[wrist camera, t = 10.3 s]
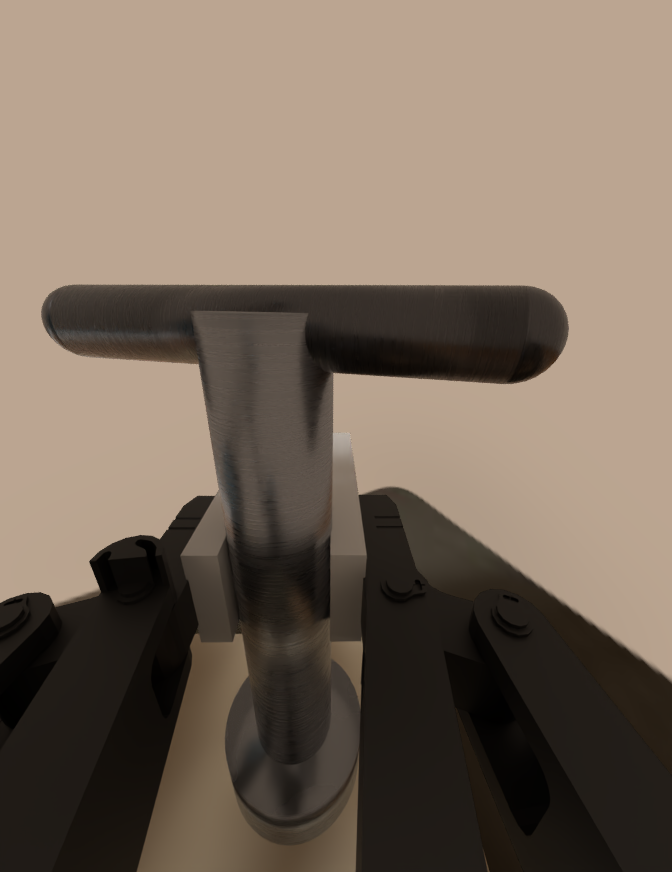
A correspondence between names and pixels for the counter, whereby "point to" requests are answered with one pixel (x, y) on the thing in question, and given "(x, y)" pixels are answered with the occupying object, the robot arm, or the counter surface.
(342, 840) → the birch board
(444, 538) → the counter surface
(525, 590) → the counter surface
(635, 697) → the counter surface
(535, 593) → the counter surface
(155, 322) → the chuck key
